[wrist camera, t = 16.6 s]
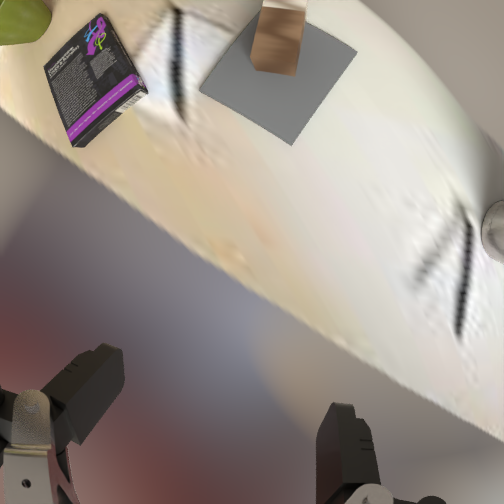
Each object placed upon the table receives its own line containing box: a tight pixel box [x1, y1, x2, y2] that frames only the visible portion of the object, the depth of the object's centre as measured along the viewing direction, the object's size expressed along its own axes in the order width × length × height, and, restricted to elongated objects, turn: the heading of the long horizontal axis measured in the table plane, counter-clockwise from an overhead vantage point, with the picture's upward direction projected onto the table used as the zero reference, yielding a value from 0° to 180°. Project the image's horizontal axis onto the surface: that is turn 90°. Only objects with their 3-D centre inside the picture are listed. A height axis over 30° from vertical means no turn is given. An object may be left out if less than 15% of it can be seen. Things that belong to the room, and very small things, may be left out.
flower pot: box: [0, 0, 51, 46], centre depth 26 cm, size 15×15×16 cm
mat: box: [199, 10, 357, 146], centre depth 32 cm, size 14×16×1 cm
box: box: [43, 13, 148, 148], centre depth 35 cm, size 14×4×20 cm
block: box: [250, 0, 307, 77], centre depth 28 cm, size 5×5×10 cm
